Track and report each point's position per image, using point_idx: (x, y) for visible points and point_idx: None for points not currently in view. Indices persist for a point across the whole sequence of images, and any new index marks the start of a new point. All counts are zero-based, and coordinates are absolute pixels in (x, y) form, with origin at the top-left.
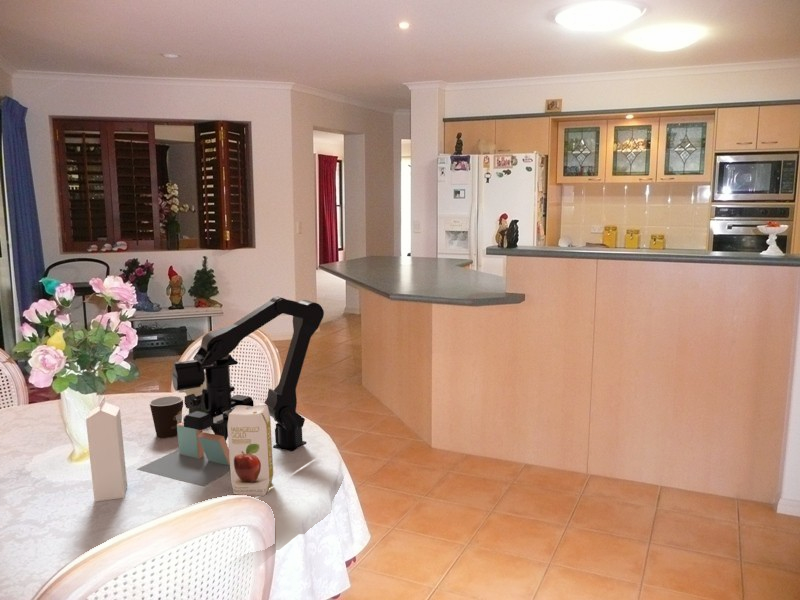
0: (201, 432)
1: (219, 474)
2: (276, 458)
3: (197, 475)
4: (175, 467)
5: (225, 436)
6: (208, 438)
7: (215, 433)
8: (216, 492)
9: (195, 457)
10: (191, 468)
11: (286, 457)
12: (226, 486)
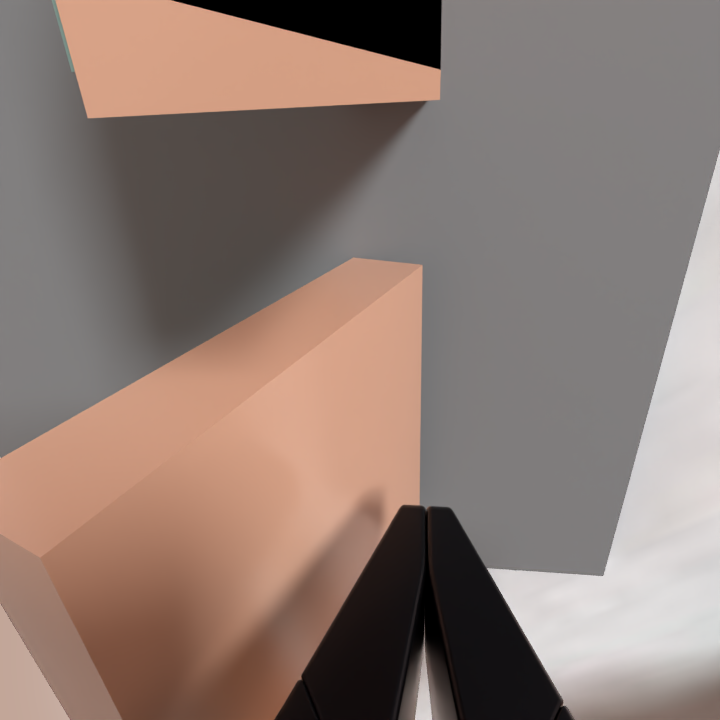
0: (26, 551)
1: None
2: (642, 663)
3: (89, 399)
4: (8, 35)
5: (432, 705)
6: (66, 703)
7: (304, 699)
8: None
9: (340, 16)
10: (124, 245)
11: (677, 700)
12: None
